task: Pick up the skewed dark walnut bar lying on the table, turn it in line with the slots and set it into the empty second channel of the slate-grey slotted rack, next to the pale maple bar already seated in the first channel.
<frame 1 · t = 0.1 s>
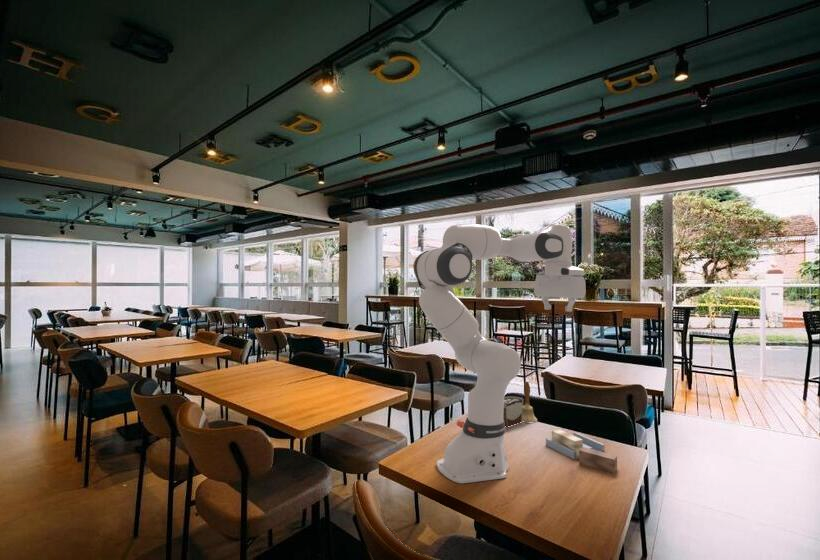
hand: (557, 310, 135), 48 cm above the table, tool pointing down, fingers open, 8 cm apart
maple bar: (566, 449, 131), point 1 cm above the table, touching slot rack
food container: (508, 423, 158), on the table
slot rack: (574, 450, 133), on the table
plastic bottle: (487, 425, 156), on the table
hand bell: (527, 420, 162), on the table
walnut bar: (597, 469, 120), on the table
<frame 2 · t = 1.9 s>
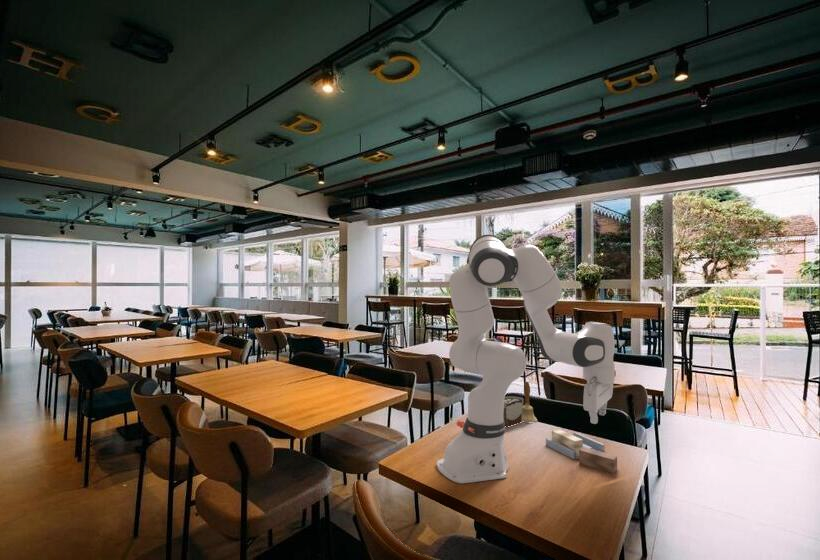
hand: (598, 418, 120), 15 cm above the table, tool pointing down, fingers open, 8 cm apart
nothing on the table moved.
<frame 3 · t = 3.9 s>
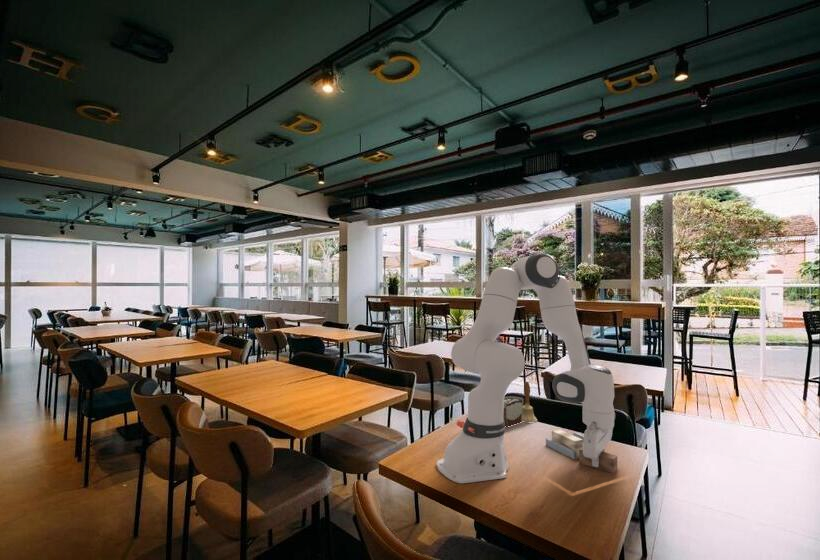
hand: (597, 462, 120), 2 cm above the table, tool pointing down, fingers closed on walnut bar, 4 cm apart
walnut bar: (597, 468, 120), on the table, touching gripper
everything else where it was.
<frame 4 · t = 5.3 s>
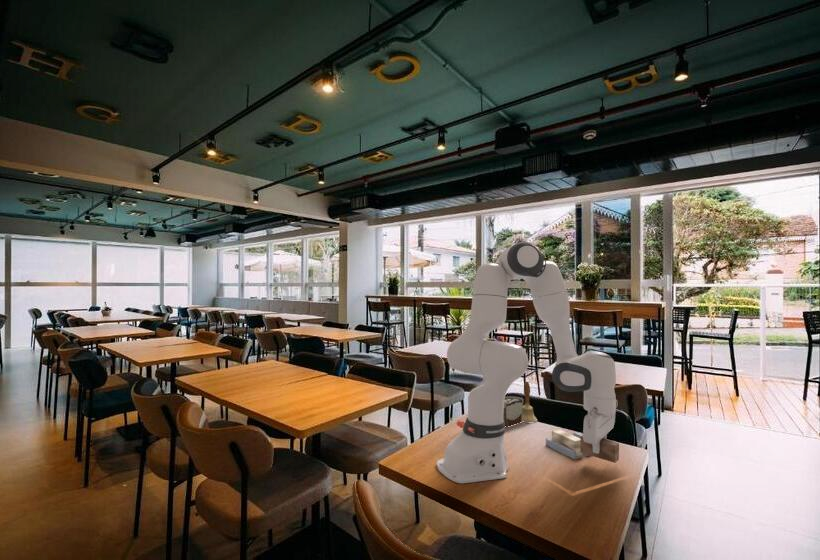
hand: (599, 450, 118), 6 cm above the table, tool pointing down, fingers closed on walnut bar, 4 cm apart
walnut bar: (599, 455, 118), point 5 cm above the table, touching gripper
everything else where it was.
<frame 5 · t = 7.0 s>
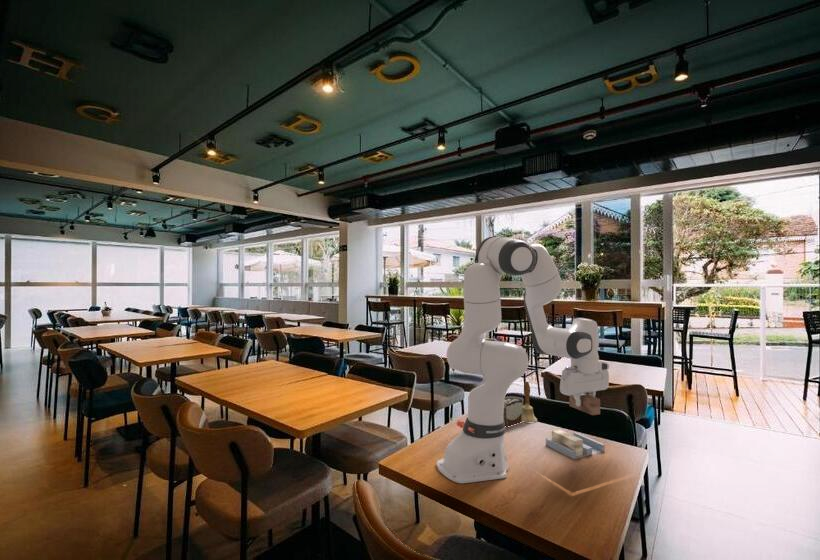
hand: (584, 404, 133), 15 cm above the table, tool pointing down, fingers closed on walnut bar, 4 cm apart
walnut bar: (584, 409, 133), point 14 cm above the table, touching gripper
everything else where it was.
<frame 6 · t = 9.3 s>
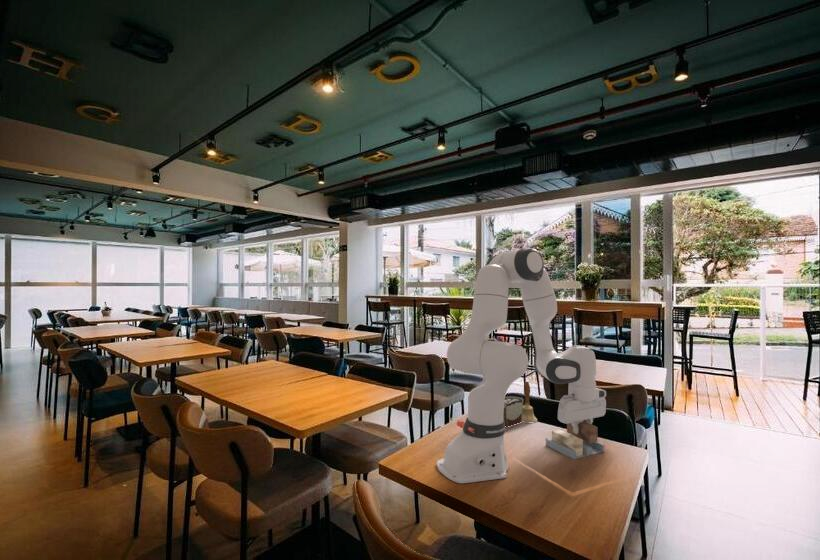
hand: (581, 431, 135), 6 cm above the table, tool pointing down, fingers closed on walnut bar, 4 cm apart
walnut bar: (581, 436, 135), point 4 cm above the table, touching gripper
everything else where it was.
when the fingers open (4 cm above the table, at t = 10.1 s): walnut bar drops 1 cm, resting on slot rack.
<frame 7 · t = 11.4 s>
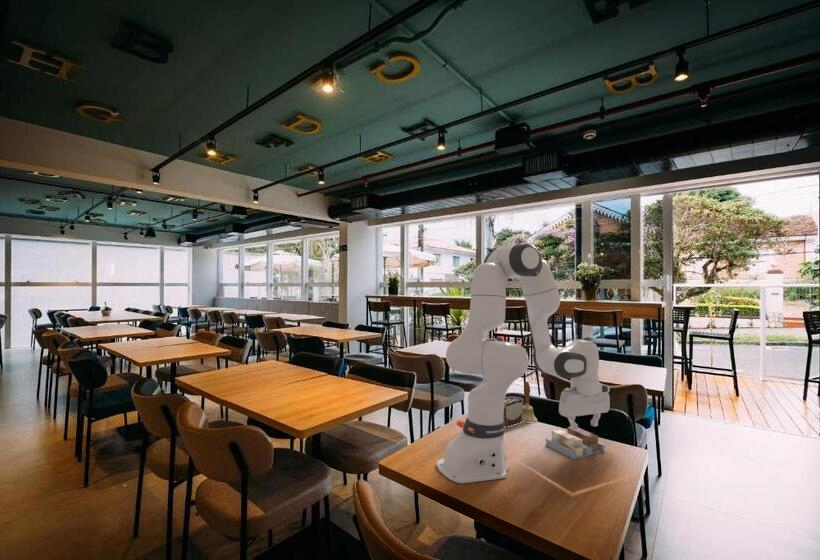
hand: (584, 427, 133), 8 cm above the table, tool pointing down, fingers open, 8 cm apart
walnut bar: (582, 446, 134), point 1 cm above the table, touching slot rack
everything else where it was.
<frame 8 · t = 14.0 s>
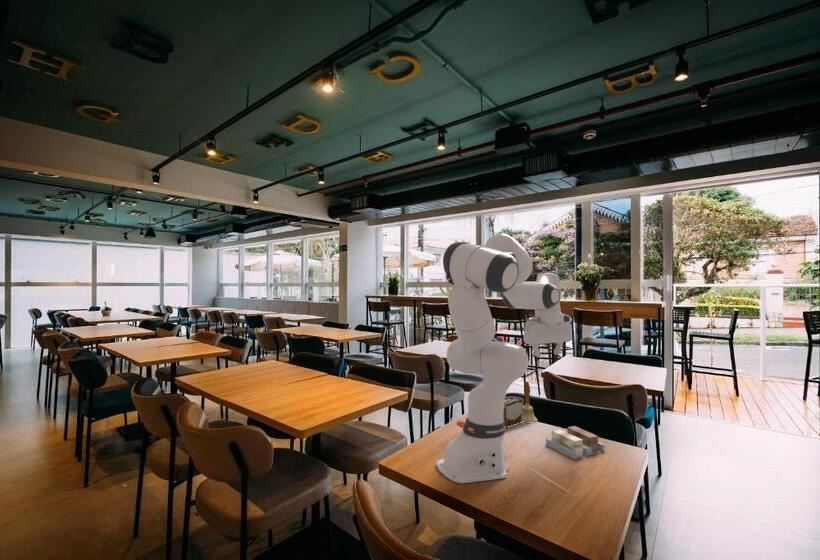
hand: (547, 355, 141), 31 cm above the table, tool pointing down, fingers open, 8 cm apart
nothing on the table moved.
at the end: walnut bar inside the target area on the slot rack (0.1 cm from its centre), point 0.8 cm above the slot rack's base; walnut bar tilted 0°; the gripper is holding nothing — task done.
